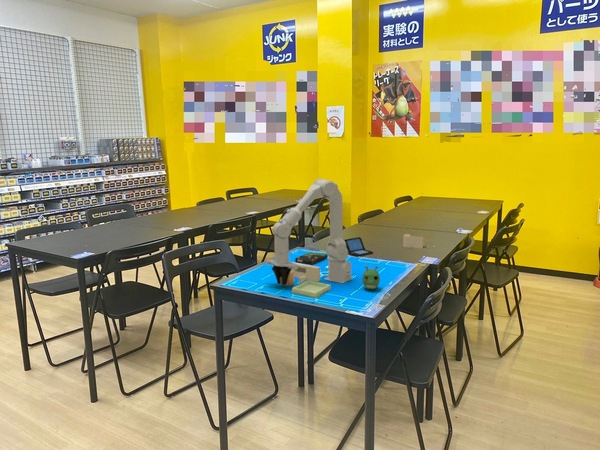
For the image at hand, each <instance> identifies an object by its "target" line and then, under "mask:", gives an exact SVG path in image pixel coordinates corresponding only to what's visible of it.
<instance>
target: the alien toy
mask: <svg viewBox="0 0 600 450" xmlns="http://www.w3.org/2000/svg"><path fill="white" fill-rule="evenodd" d="M364 268H365V269H366V270H365V271H364V272H363V274H362V279H361V280H362V285H363V286H364V287H365V288H366V289H367V290H375V289H377V288H378V286H379V284H380V281H381V277H380V276H381V275H380V274H379V272H378V271H377V269H379V266H378V265H375V266H374V268H375V269H374V268H369V265H365V266H364Z"/></svg>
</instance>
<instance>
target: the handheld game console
mask: <svg viewBox="0 0 600 450" xmlns="http://www.w3.org/2000/svg"><path fill="white" fill-rule="evenodd" d="M344 241H345V243H346V248H347V250H348V256H352V257H355V256H356V258H359V257H358V256H360V257H363V256H368V255H373V254H374V251H372V250H368V249H366V248H365V246H364V242H363V239H362V237H353V238H352V237H351V238H347V239H344Z"/></svg>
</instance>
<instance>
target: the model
mask: <svg viewBox="0 0 600 450" xmlns="http://www.w3.org/2000/svg"><path fill="white" fill-rule="evenodd" d="M424 236H425V235H424V234H422V235H420V236H413V235H411V233H404V234H403V239H402V240H403V242H402V243H403V244H402V247H403V248H411V247H413V248H414V249H424Z"/></svg>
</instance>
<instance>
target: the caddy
mask: <svg viewBox="0 0 600 450" xmlns="http://www.w3.org/2000/svg"><path fill="white" fill-rule="evenodd" d="M279 285H282V276H281V277H280V284H279ZM293 285H295V277H294V272H293V271H290V273H289V276H288V279H287V283H286V284H285V285H284V286H285V287H289V286H290V287H291V286H293Z"/></svg>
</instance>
